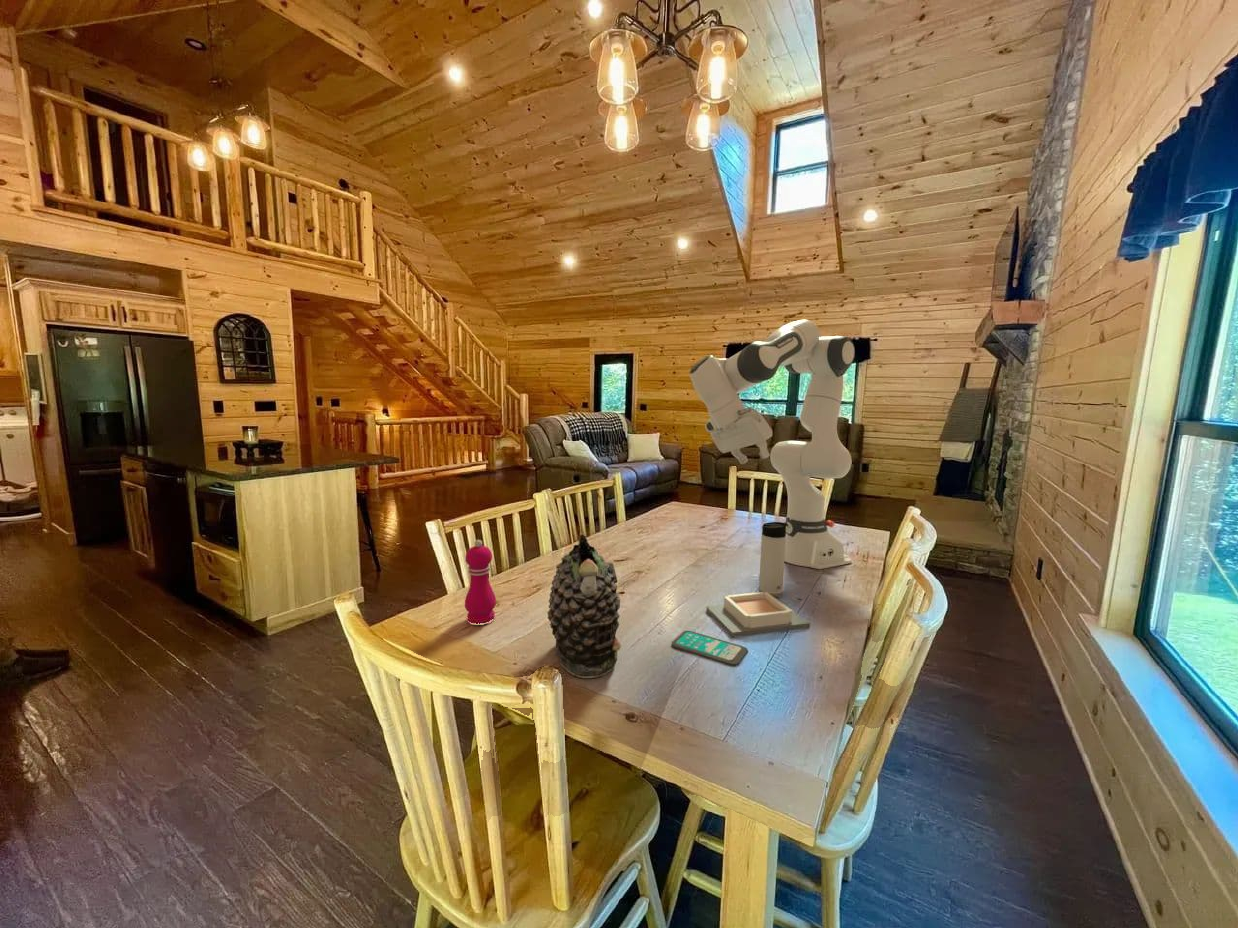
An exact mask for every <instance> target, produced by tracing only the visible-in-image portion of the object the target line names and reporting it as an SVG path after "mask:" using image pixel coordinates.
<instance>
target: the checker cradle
mask: <svg viewBox="0 0 1238 928" xmlns="http://www.w3.org/2000/svg"><path fill="white" fill-rule="evenodd" d="M759 599H764V600H765V601H767V602H768V603H769V604H771V605H772V606H773V607H775V608H776V609H777V610H778V611H776V612H768V613H759V614H751V615H749V614H747V613H746V612H745V611H744V610H743V609H742V608H741V607H739V606H738V605H737V604H736V603H735V602H741V601H750V600H759ZM705 609H706V612H707V613H708V614H709V615H710V616H711V617H712V618H713V619H714V621H715V622H716V623H717V624H718V625H720V626H721V628H722V629H724V631H725V632H726V633H727V634H728V635H729V636H730V637H731V638H732V639H733V638H739V637H741V638H742V637H747V636H755V635H762V634H763V635H764V634H771V633H779V632H786V631H787V632H788V631H794V630H795V631H796V630H802V629H809V628H811V622H810V621H809V620H807V619H806V618H804V617H803V616H801V615H800V614H798V613H797V612H796V611H794V609H792V608H790V607H789V606H788V605H786V604H785V603H784V602H782V601H781V600H779V599H778V598H774V597H773V596H771V595H770V594H769V593H767V592H765V593H763V592H759V591H758V592H748V593H740V594H737V593H736V594H728V595H726V596H724V597H723V604H716V605H707V606H706V608H705Z"/></svg>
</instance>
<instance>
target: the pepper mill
mask: <svg viewBox="0 0 1238 928" xmlns="http://www.w3.org/2000/svg"><path fill="white" fill-rule="evenodd" d="M492 560H493V553H492V551H491V549H490V548H489V547H487V546H486V545H483V541H482V540H481V539H477V540H475V541H474V546H472V547H470V548H469V549H468V550H467V552H466V553H465V562H466V564H467V565H468V567H467V568H468V569H467V570H468V574H469V576H470V583H469V584H470V585H469V588H468V591H467V593H466V596H465V600H464V608H465V610H466V612H468V613H467V616H466V617H467V622H468V621H469V622H471V623H476V624H478V623H479V624H480V623H486V622H489V621H490V620H492V619H494V620H495V618H494V617H495V611H494V608H495V607H496V604H497V598H496V595H495V592H494V590H493V589H492V586H491V584H490V579H489V573H491V565H490V563H491V562H492Z"/></svg>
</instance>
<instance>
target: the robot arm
mask: <svg viewBox="0 0 1238 928" xmlns="http://www.w3.org/2000/svg"><path fill="white" fill-rule="evenodd" d="M855 356H856V349H855V345H854V342H853V341H852V340H851V338H850V337H848V336H843V335H835V336H821V335H820V329H819V327H818V326H817V324H816V323H815V322H814V321H812V320H809V319H799V320H795V321H792V322H789V323H786V324H784V325H782V326H781V327H778V328H777V329H775V330H774V331H773V332H771V333H770V334H769V335H768V336H767V338H765V341H754V342H752V343H750V344H748V345H746V346H745V347H744V348H743V349H741V350H740V351H738V352H737V353H735V354H734V355H732V356H730V357H729V358H719V357H714V356H713V355H712V354H710V355H707V356H705V357H703V358H701V359H700V360H699V361H698V362H696V363H695V364H694V365H693V366H692V367H691V368H690V371H689V378H690V381H691V384H692V386H693V389H694V390H695V391H696V394H697V396H698V398H699V399H700V401H701V402H702V403H704V405H705V406H706V409H707V413H708V415H709V416H710V418H709V419H708V421H707V423H706V424H705V425H704V428H705V429H706V432H708V433H710V436H711V439H712V441H713V443H714V444H715V446H716V447H717V449H718V450H719V451H720V452H721V453H722V454H726V453H729V452H730V453H731V455H732V456H733V457H734V458H736V459H737V460H738V462H739V463H740V464H741V465H743V464H746V463H747V462H749V459H748V456H746V455H744V454H743V453H742V451H741V449H743V448H747V447H749V446H750V447H751V446H753V445H756V447H757V448H759V453H758V455H759V457H760V459H762V460H764V459H767V458H769V461H770V463H771V466H772V468H774V469H775V470H776V472H778V474H779V475H780V476H781V478H782V480H783V483H784V485H785V488H786V491H787V514H786V516H785V523H787V524H788V527H787V526H786V543H785V560H784V563H785V562H786V563H789V564H791V565H795V566H799V567H800V566H802V567H808V568H811V569H812V568H813V569H816V570H823V569H829V568H834V567H837V566H842V565H847V564H852V559H851V557H850V556H848V555H847V554H845V548H844V543H843V542H842V541H841V539H839V538H838V537H837V536H835V534H833V533H832V532H830V530H828V529H829V528H834V526H835V522H834V521H833V520H831V519H828V520H827V519H825V517H824V515H825V501H826V499H825V494H824V493H823V492H822V491H821V490H820V489H818V488H817V487H816V486H815V485H814V484H813V481H812V479H811V477H812V478H818V479H825V480H829V479H833V480H834V479H842V478H843V477H845V476H846V475H847V474H848V473H849V471H850V470H851V468H852V462H853V461H852V455H851V453H850V451H849V450H848V449H847V448H846V447H845V446H844V445H843V443H842V442H841V440H840V437H839V435H838V428H837V427H838V425H837V424H838V420H839V413H840V409H841V403H842V399H843V392H844V375H845V374H846V372H848V371H847V370H849V368H850V367H851V366H852V364H853V362H854V360H855ZM780 367H784V368H785V370H786V371H787V372H788V373H791V374H796V375H801V374H804V375H805V374H807V375H810V377H811V378H810V381H809V383H808V385H807V389H806V391H805V395H804V400H803V404H802V409H801V412H800V416H799V420H800V424H801V426H802V427H803V428H804V429H805V430H807V431H808V432H809V433H811V441H805V440H804V441H803V440H784V441H778V442H777V443H776V444H774V446H772V449H771V451H770V452H769V450H768V443H767V440H769V439H770V438H771V437H773V429H772V427H771V426H770V425H769V424H768V421H766V419H765V417H763V415H762V414H761V413H760V412H759V411H758V410H757V409H755V408H753V407H751V406H748V407H746V406H745V405H744V403H743V402H742V400H741V397H740V396H739V394H740V393H742V392H744V391H746V390H748V389H750V388H752V387H754V386H756V385H758V384H760V383H763V382H766V381H768V380H771V379H772V378H773V377H774V376H775V375H776V374H777V371H778V370H779V368H780ZM828 527H829V528H828Z"/></svg>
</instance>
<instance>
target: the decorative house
mask: <svg viewBox="0 0 1238 928" xmlns="http://www.w3.org/2000/svg"><path fill="white" fill-rule="evenodd" d="M560 559H561V562H560V563H558V564H556V566H555V567H556V571H555V574H554V576H553V579H552V581H551V585H552V586H551V587H550V593H549V599H548V602H549V605H548V608H549V609H548V611H547V619H548V621H549V622H550V624H549V626H550V628H551V631H552V633H551V634H552V635H553V636H554V639H555V649H556V653H557V656H558V660H559V663H560V665H561V666H562V667H563V669H565V670H566V671H567V672H568V673H570V674H571V675H573V676H576V677H578V678H583V679H593V678H598V677H601V676H605V675H607V673H609V672H610V671H612V670H613V669H614V668H615V666H616V663H617V661H618V651H619V650H621V649H622V644H621V643H620V641H619V640H618V638H617V637H616V636H617V634H616V633H617V631H618V628H619V626H620V623H619V621H618V620H619V618H620V614H619V612H618V610H619V609H620V607H621V600H620V597H619V595H618V594H617V588H618V585H617V584H616V583H618V576H617V573H616V569H615V566H614V563H613V562H612V561H609V562H608V561H607V562H606V560H605V558H604V557H603V556H602V555H600V554H599V553H598V550H597V549H595V547H594V546H592V545H590V544H589V542H588V540H587V537H586V536H585V535H584V534H581V535H580V537H579V539H578V544H574V545H573V547H572V549H571V550H570V551H569V552H568V553H567V554H565V555H563V557H561V558H560Z"/></svg>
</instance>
